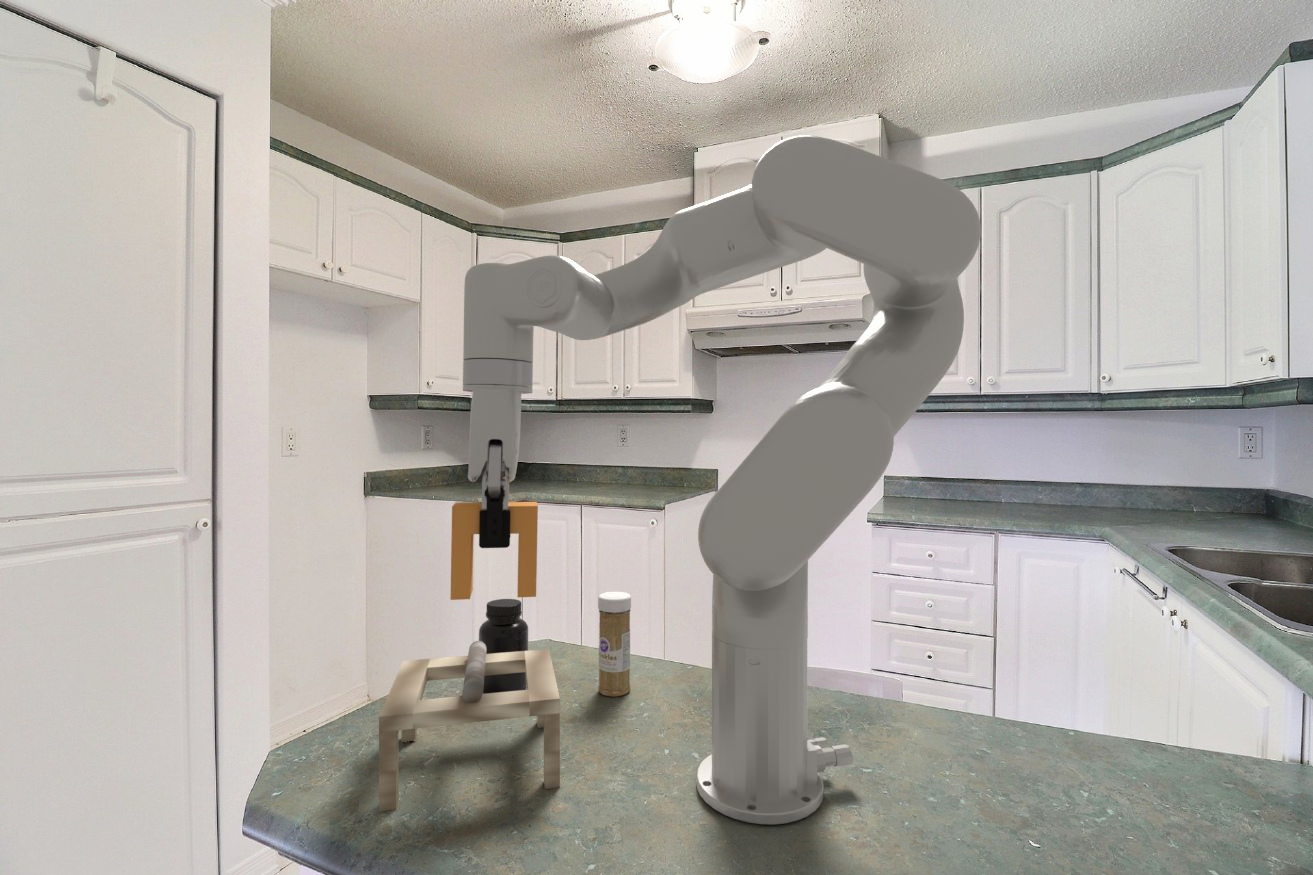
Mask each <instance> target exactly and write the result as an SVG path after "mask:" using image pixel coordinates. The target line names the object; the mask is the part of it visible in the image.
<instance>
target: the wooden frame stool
mask: <svg viewBox="0 0 1313 875" xmlns="http://www.w3.org/2000/svg"><path fill="white" fill-rule="evenodd" d="M467 654H468V655H457V656H445V657H434V658H424V659H423V658H422V659H411V660H410V659H407V660H402V662H401V665H400V668H399V669H398V672H397V674H396V676H395V679H394V682H393V684H392V686H391V688H390V689H389V690H390V691H389V693H388V695H387V697H386V699H385V702H384V703H383V706H382V709H381V711H380V713H379V715H378V809H379V810H378V811H379V812H385V811H391V810H392V811H393V810H397V808H398V804H399V800H400V799H399V798H400V797H399V796H400V795H399V794H400V793H399V792H400V791H399V790H400V789H399V787H400V786H399V785H400V784H399V783H400V781H399V778H400V777H399V774H400V773H399V767H400V766H399V731H401V743H402V742H405V743H410V742H409V741H414V740H417V737H418V729H425V728H432V727H443V726H452V725H463V724H472V723H481V722H492V721H499V720H500V721H501V720H508V719H519V718H527V717H528V718H529V717H536V725H537V726H536V727H537V729H538V728H543V783H544V784H543V785H544V790H549V789H556V788H560V787H561V772H560V771H561V768H560V767H561V755H560V754H561V751H560V750H561V749H560V747H561V742H560V740H561V736H560V735H561V724H560V722H561V720H560V718H561V715H560V713H561V712H560V710H561V707H560V706H561V702H560V700H561V698H560V694H559V689H558V684H557V679H556V675H555V671H554V664H553V661H552V656H551V651H550V649H549V648H545V649H534V650H533V649H532V650H530V649H528V651H517V652H505V653H493V654H486V645H485V643H483V642H482V641H479V640H475V641H473V642H472V643H471V644H470V645H469V649H468V653H467ZM520 672H525V674H526V684H527V686H526V689H523V690H519V691H509V692H499V693H488V694H484V693H483V687H484V676H487V675H498V674H509V673H520ZM461 678H462V679H463V678H464V679H463V686H462V692H461V695H457V696H448V697H439V698H428V699H427V698H426V699H423V696H424V693H425V688H426V686H427V683H428V681H429V682H431V681H442V680H451V679H461ZM407 741H408V742H407ZM414 742H415V741H414Z"/></svg>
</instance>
